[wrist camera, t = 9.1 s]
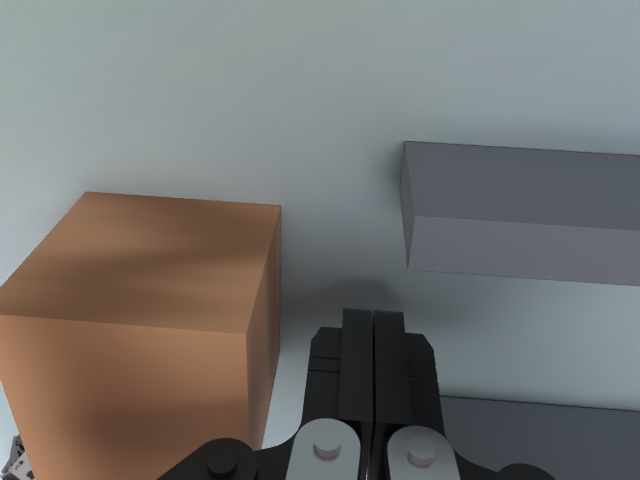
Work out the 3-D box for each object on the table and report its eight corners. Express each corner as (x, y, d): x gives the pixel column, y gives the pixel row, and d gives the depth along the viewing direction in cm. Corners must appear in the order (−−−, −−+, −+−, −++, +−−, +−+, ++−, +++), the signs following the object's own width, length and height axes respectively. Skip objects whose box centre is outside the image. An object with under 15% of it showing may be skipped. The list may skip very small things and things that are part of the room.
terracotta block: (281, 203, 15) (245, 334, 11) (279, 350, 18) (251, 502, 13) (88, 189, 15) (-23, 312, 11) (115, 337, 18) (36, 482, 13)
